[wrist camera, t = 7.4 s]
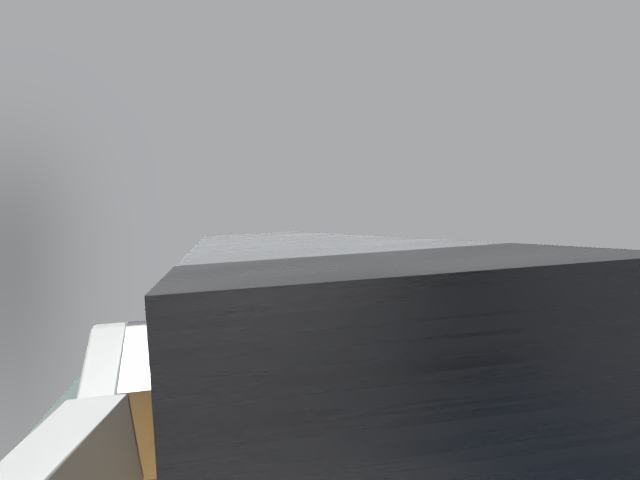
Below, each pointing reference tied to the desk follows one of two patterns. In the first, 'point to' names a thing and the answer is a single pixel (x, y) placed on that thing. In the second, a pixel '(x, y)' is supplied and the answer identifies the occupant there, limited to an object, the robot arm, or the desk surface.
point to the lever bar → (395, 360)
